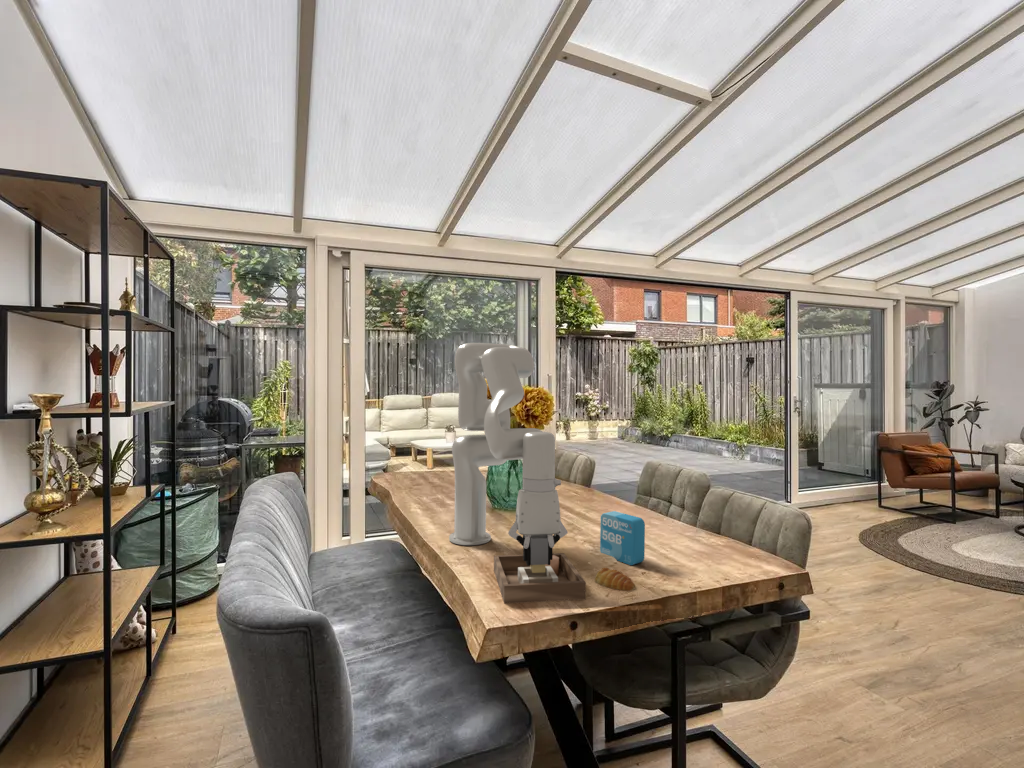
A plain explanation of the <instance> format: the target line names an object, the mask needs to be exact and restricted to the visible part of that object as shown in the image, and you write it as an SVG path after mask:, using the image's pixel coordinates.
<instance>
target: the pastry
mask: <svg viewBox="0 0 1024 768" xmlns="http://www.w3.org/2000/svg"><path fill="white" fill-rule="evenodd" d="M594 582H595V583H596V584H598V585H599V586H603V587H604V588H605V587H606V588H609V589H613V590H617V591H623V592H626V591H627V592H631V591H634V590H635V588H636V584H635V583H634V581H633V580H632V579H631V578H629V576H628V575H625V574H623V572H622V571H619V570H616V569H613V568H612V569H610V568H608V567H601V568H600V569H599V571H597V572H596V575H595V577H594Z"/></svg>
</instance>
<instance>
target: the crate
mask: <svg viewBox="0 0 1024 768" xmlns="http://www.w3.org/2000/svg"><path fill="white" fill-rule="evenodd" d="M553 555H555V556H558V557H559V575H558V576H557V575H556V574H555V572H554V571H553V569H552V567H551V566H545V572H541V573H532V571H531V569H530V566H527V564H526V561H524V560H523V554H503V555H500V554H499V555H498V554H497V555H493V572H494V575H495V579H496V582H497V584H498V588H499V592H500V594H501V595H500V596H501V598H502V601H503V604H519V603H520V604H521V603H539V602H540V603H541V602H543V603H544V602H559V601H560V602H561V601H563V602H564V601H566V602H567V601H582V600H584V601H585V600H586V597H587V596H586V592H587V591H586V589H587V585H586V584H587V583H586V581H585V580H584V578H583V577H582V576H581V574H580V572H579V571H578V570H577V568H575V566H574V565H573V563H572V562H571V560H570V559H569V557H568V556H567V555H566V554H565V553H563V552H562V553H561V552H560V553H559V552H558V553H554V552H553Z"/></svg>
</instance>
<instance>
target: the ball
mask: <svg viewBox="0 0 1024 768" xmlns="http://www.w3.org/2000/svg"><path fill="white" fill-rule="evenodd" d="M545 566H551V567H552V569H553V571H554V572H555V574H556V575H557V576H558V575H559V557H558V556H555V555H553V558H552V560H550V565H548V564H545Z"/></svg>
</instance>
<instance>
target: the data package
mask: <svg viewBox="0 0 1024 768" xmlns="http://www.w3.org/2000/svg"><path fill="white" fill-rule="evenodd" d="M599 527H600V530H599V531H600V534H599V536H600V537H599V539H600V540H599V541H600V542H599V543H600V544H599V548H600V549H599V550H600V553H601V554H604V555H607V556H610V557H613V559H615V560H616V561H617V562H619V561H620V562H619V563H622V562H623V563H622V564H626V565H629V566H633V565H637V564H640V563H643V562H644V560H645V549H646V548H645V547H646V546H645V545H646V542H645V540H646V539H645V538H646V535H645V533H646V524H645V521H644V519H643V518H642V517H638V516H635V515H631V514H627V513H624V512H619V511H616V510H612V511H608V512H603V513H602V514H601V515H600V526H599Z"/></svg>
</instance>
